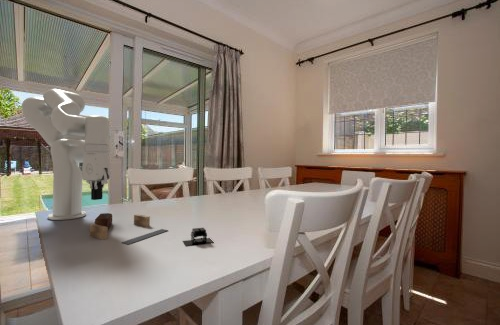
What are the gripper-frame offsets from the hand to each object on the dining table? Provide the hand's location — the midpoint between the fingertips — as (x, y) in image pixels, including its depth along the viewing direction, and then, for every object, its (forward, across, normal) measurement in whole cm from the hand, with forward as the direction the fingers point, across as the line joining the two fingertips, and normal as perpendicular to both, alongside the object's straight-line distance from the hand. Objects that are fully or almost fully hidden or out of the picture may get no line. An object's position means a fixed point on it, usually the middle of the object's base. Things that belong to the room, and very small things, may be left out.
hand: (96, 199), depth 91 cm
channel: (+10, +14, 0) cm, 17 cm away
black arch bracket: (+12, +43, +5) cm, 45 cm away
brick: (+10, +6, -1) cm, 12 cm away
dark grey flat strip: (+10, +26, 0) cm, 28 cm away
